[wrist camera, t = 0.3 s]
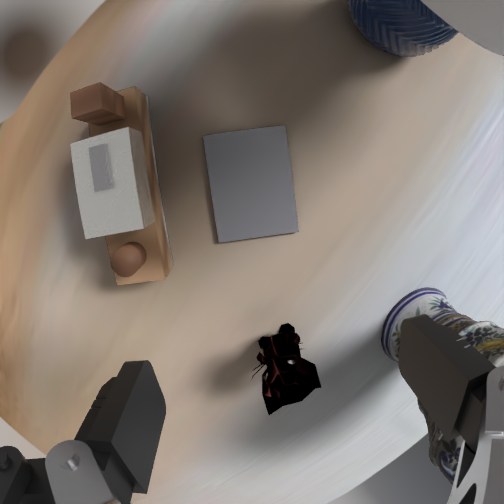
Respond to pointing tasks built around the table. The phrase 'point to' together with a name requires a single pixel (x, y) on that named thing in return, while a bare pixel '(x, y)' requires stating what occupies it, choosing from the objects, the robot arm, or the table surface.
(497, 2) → the lamp
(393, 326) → the vase
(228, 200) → the felt mat
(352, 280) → the table surface
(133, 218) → the lever cap
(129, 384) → the robot arm
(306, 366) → the cat figurine
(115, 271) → the plane body
